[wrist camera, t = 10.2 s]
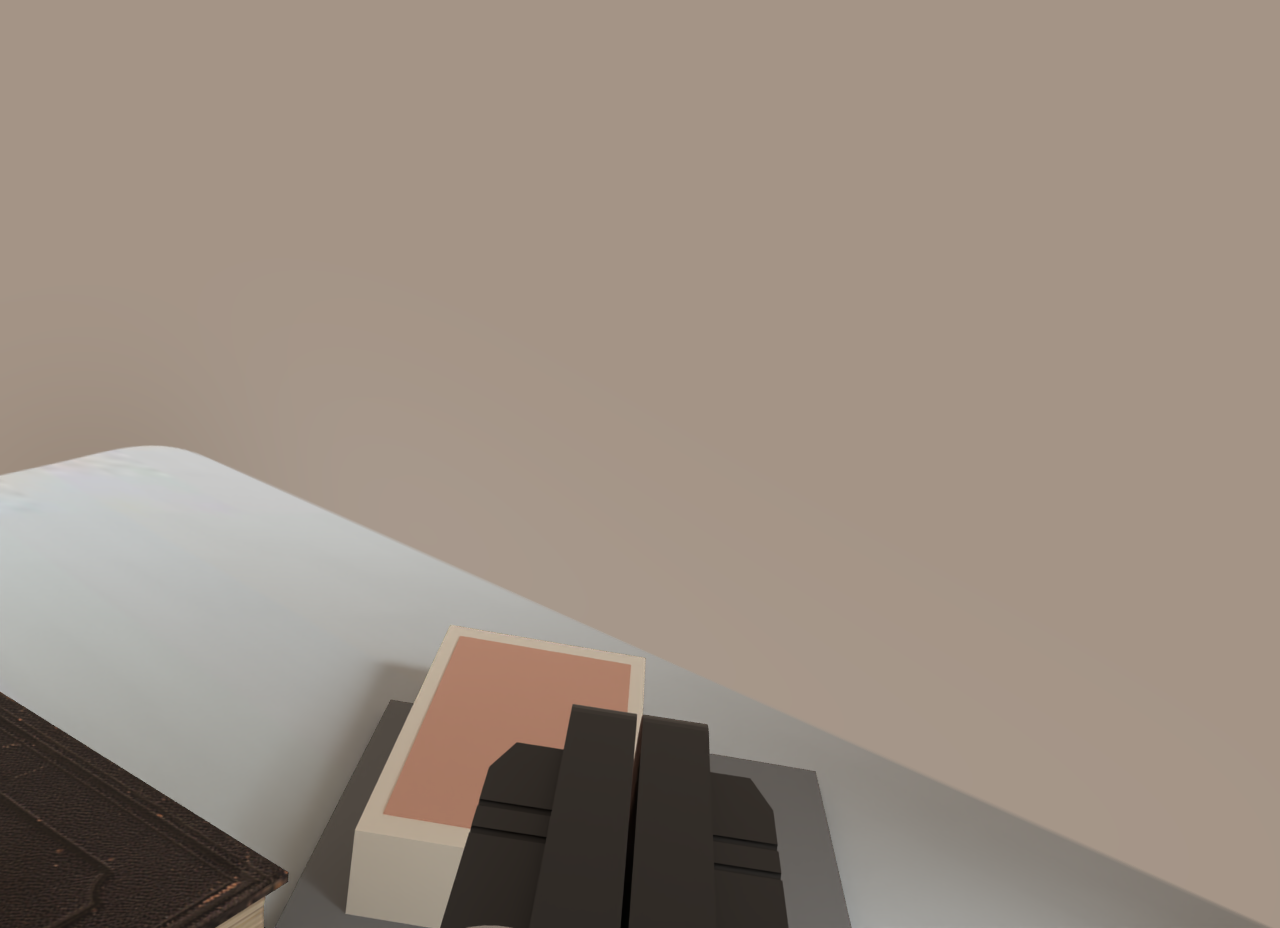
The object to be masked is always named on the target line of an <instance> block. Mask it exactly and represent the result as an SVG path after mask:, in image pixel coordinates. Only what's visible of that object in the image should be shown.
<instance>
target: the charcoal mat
mask: <svg viewBox="0 0 1280 928" xmlns="http://www.w3.org/2000/svg"><path fill="white" fill-rule="evenodd" d="M412 706H413V703H407V702H401V701H395V700H390V702H389V704H388V706H387V708H386V710H385V712H384V714H383V716H382V718H381V720H380V722H379V724H378V726H377V728H376V730H375V732H374V734H373V736H372V738H371V740H370V742H369V744H368V746H367V748H366V750H365V752H364V753H363V755H362V757H361V759H360V761H359V763H358V765H357V767H356V769H355V771H354V773H353V775H352V777H351V779H350V781H349V783H348V785H347V787H346V789H345V791H344V793H343V795H342V797H341V799H340V801H339V803H338V805H337V806H336V808H335V810H334V812H333V814H332V816H331V818H330V820H329V822H328V824H327V826H326V828H325V830H324V832H323V834H322V836H321V838H320V840H319V842H318V844H317V846H316V848H315V850H314V852H313V854H312V856H311V858H310V860H309V861H308V863H307V865H306V867H305V869H304V871H303V873H302V875H301V877H300V879H299V881H298V883H297V885H296V887H295V889H294V891H293V893H292V895H291V897H290V899H289V901H288V903H287V905H286V907H285V909H284V911H283V913H282V914H281V916H280V918H279V920H278V922H277V924H276V926H275V928H428V927H422V926H416V925H410V924H404V923H398V922H392V921H386V920H380V919H374V918H368V917H361V916H355V915H349V914H345V913H346V905H347V896H348V887H349V878H350V869H351V861H352V852H353V843H354V834H355V829H356V827H357V825H358V822H359V820H360V818H361V816H362V814H363V812H364V809H365V807H366V805H367V803H368V801H369V799H370V797H371V794H372V792H373V790H374V788H375V786H376V784H377V782H378V779H379V777H380V775H381V773H382V771H383V769H384V766H385V764H386V762H387V760H388V758H389V756H390V754H391V751H392V749H393V747H394V745H395V743H396V741H397V738H398V736H399V734H400V732H401V730H402V728H403V726H404V723H405V721H406V719H407V717H408V715H409V713H410V711H411V708H412ZM710 772H714V773H720V774H727V775H733V776H740V777H746V778H751V780H752V781H753V783H754V784H755V785H756V787H757V788H758V790H759V791H760V792H761V794H762V795H763V797H764V798H765V799H766V801H767V802H768V804H769V805H770V806H771V808H772V809H773V812H774V819H775V827H776V835H777V842H778V846H777V851H779V858H780V865H781V880H783V888H784V896H785V903H786V911H787V919H788V926H789V928H851V924H850V919H849V915H848V910H847V906H846V902H845V897H844V893H843V889H842V884H841V880H840V876H839V871H838V867H837V863H836V858H835V854H834V850H833V845H832V841H831V837H830V832H829V828H828V824H827V819H826V815H825V811H824V806H823V802H822V797H821V793H820V789H819V784H818V780H817V776H816V771H810V770H804V769H798V768H792V767H786V766H781V765H775V764H769V763H763V762H757V761H751V760H745V759H739V758H733V757H727V756H721V755H715V754H710Z"/></svg>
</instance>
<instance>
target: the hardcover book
mask: <svg viewBox="0 0 1280 928" xmlns="http://www.w3.org/2000/svg"><path fill="white" fill-rule="evenodd" d="M287 882H288V872H287V871H285V870H284V869H282V868H281V867H279V866H277V865H276V864H274V863H273V862H271V861H269V860H268V859H266V858H265V857H263V856H261V855H260V854H258V853H257V852H255V851H253V850H252V849H250V848H249V847H247V846H245V845H244V844H242V843H241V842H239V841H237V840H236V839H234V838H233V837H231V836H229V835H228V834H226V833H225V832H223V831H221V830H220V829H218V828H217V827H215V826H213V825H212V824H210V823H209V822H207V821H205V820H204V819H202V818H201V817H199V816H198V815H196V814H194V813H193V812H191V811H190V810H188V809H186V808H185V807H183V806H182V805H180V804H178V803H177V802H175V801H174V800H172V799H170V798H169V797H167V796H166V795H164V794H162V793H161V792H159V791H158V790H156V789H154V788H153V787H151V786H150V785H148V784H146V783H145V782H143V781H142V780H140V779H138V778H137V777H135V776H134V775H132V774H130V773H129V772H127V771H126V770H124V769H123V768H121V767H119V766H118V765H116V764H115V763H113V762H111V761H110V760H108V759H107V758H105V757H103V756H102V755H100V754H99V753H97V752H95V751H94V750H92V749H91V748H89V747H87V746H86V745H84V744H83V743H81V742H79V741H78V740H76V739H75V738H73V737H71V736H70V735H68V734H67V733H65V732H63V731H62V730H60V729H59V728H57V727H55V726H54V725H52V724H51V723H49V722H47V721H46V720H44V719H43V718H41V717H40V716H38V715H36V714H35V713H33V712H32V711H30V710H28V709H27V708H25V707H24V706H22V705H20V704H19V703H17V702H16V701H14V700H12V699H11V698H9V697H8V696H6V695H4V694H3V693H1V692H0V928H265V927H264V914H263V911H264V902H265V896H266V895H268V894H269V893H271V892H273V891H274V890H276V889H277V888H279V887H280V886H282V885H284V884H285V883H287Z"/></svg>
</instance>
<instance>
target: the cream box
mask: <svg viewBox="0 0 1280 928" xmlns="http://www.w3.org/2000/svg"><path fill="white" fill-rule="evenodd" d="M645 660H646V658H642V657H636V656H630V655H625V654H619V653H613V652H607V651H601V650H595V649H589V648H583V647H578V646H572V645H566V644H560V643H554V642H548V641H542V640H536V639H530V638H525V637H519V636H513V635H507V634H501V633H495V632H489V631H483V630H478V629H472V628H466V627H460V626H454V625H450V627H449V629H448V631H447V633H446V635H445V637H444V639H443V642H442V644H441V646H440V648H439V650H438V652H437V655H436V657H435V659H434V661H433V663H432V665H431V667H430V670H429V672H428V674H427V676H426V678H425V680H424V683H423V685H422V687H421V689H420V691H419V693H418V695H417V698H416V700H415V702H414V704H413V706H412V708H411V711H410V713H409V715H408V717H407V719H406V721H405V723H404V726H403V728H402V730H401V732H400V734H399V736H398V738H397V741H396V743H395V745H394V747H393V749H392V751H391V754H390V756H389V758H388V760H387V762H386V764H385V766H384V769H383V771H382V773H381V775H380V777H379V779H378V782H377V784H376V786H375V788H374V790H373V792H372V794H371V797H370V799H369V801H368V803H367V805H366V807H365V809H364V812H363V814H362V816H361V818H360V820H359V822H358V825H357V827H356V829H355V834H354V843H353V852H352V861H351V869H350V878H349V887H348V896H347V905H346V913H345V914H349V915H355V916H361V917H368V918H374V919H380V920H386V921H392V922H398V923H404V924H410V925H416V926H422V927H428V928H440V926H441V923H442V919H443V916H444V913H445V910H446V906H447V903H448V900H449V897H450V893H451V890H452V887H453V883H454V880H455V877H456V874H457V870H458V867H459V864H460V860H461V857H462V854H463V851H464V847H465V844H466V841H467V837H468V834H469V832H470V830H471V824H472V821H473V818H474V815H475V811H476V808H477V805H478V804H479V798H480V795H481V792H482V788H483V785H484V782H485V778H486V775H487V772H488V769H489V766H490V765H492V764H493V763H494V762H495V761H496V760H497V759H498V758H499V757H501V756H502V755H503V754H504V753H505V752H506V751H507V750H509V749H510V748H511V747H512V746H513V745H514V744H515V743H516V742H519V743H525V744H532V745H538V746H545V747H551V748H558V749H564V745H565V740H566V735H567V729H568V724H569V719H570V714H571V709H572V704H577V705H583V706H590V707H596V708H602V709H609V710H615V711H622V712H628V713H635V714H637V725H636V738H635V750H636V744H637V738H638V733H639V727H640V723H641V718H642V715H643V699H644V679H645ZM634 756H635V751H634Z"/></svg>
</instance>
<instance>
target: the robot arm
mask: <svg viewBox="0 0 1280 928" xmlns="http://www.w3.org/2000/svg"><path fill="white" fill-rule="evenodd" d="M636 725H637V714H635V713H628V712H622V711H615V710H609V709H602V708H596V707H590V706H583V705H577V704H572V709H571V714H570V719H569V724H568V729H567V735H566V740H565V745H564V749H558V748H551V747H545V746H538V745H532V744H525V743H519V742H516V743H515V744H514V745H513V746H512V747H511V748H510V749H509V750H507V751H506V752H505V753H504V754H503V755H502V756H501V757H499V758H498V759H497V760H496V761H495V762H494V763H493V764H492V765H490V766H489V769H488V772H487V775H486V778H485V782H484V785H483V788H482V792H481V795H480V798H479V804H478V805H477V808H476V811H475V815H474V818H473V821H472V824H471V830H470V832H469V834H468V837H467V841H466V844H465V847H464V851H463V854H462V857H461V860H460V864H459V867H458V870H457V874H456V877H455V880H454V883H453V887H452V890H451V893H450V897H449V900H448V903H447V906H446V910H445V913H444V916H443V919H442V923H441V926H440V928H789V926H788V919H787V911H786V903H785V896H784V888H783V880H781V865H780V858H779V851H777V846H778V842H777V835H776V827H775V819H774V812H773V809H772V808H771V806H770V805H769V804H768V802H767V801H766V799H765V798H764V797H763V795H762V794H761V792H760V791H759V790H758V788H757V787H756V785H755V784H754V783H753V781H752V780H751V778H746V777H740V776H733V775H727V774H720V773H714V772H710V754H709V731H708V725H707V724H700V723H694V722H688V721H681V720H675V719H668V718H662V717H655V716H649V715H642V718H641V723H640V727H639V733H638V738H637V744H636V750H635V738H636ZM634 751H635V756H634Z"/></svg>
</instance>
